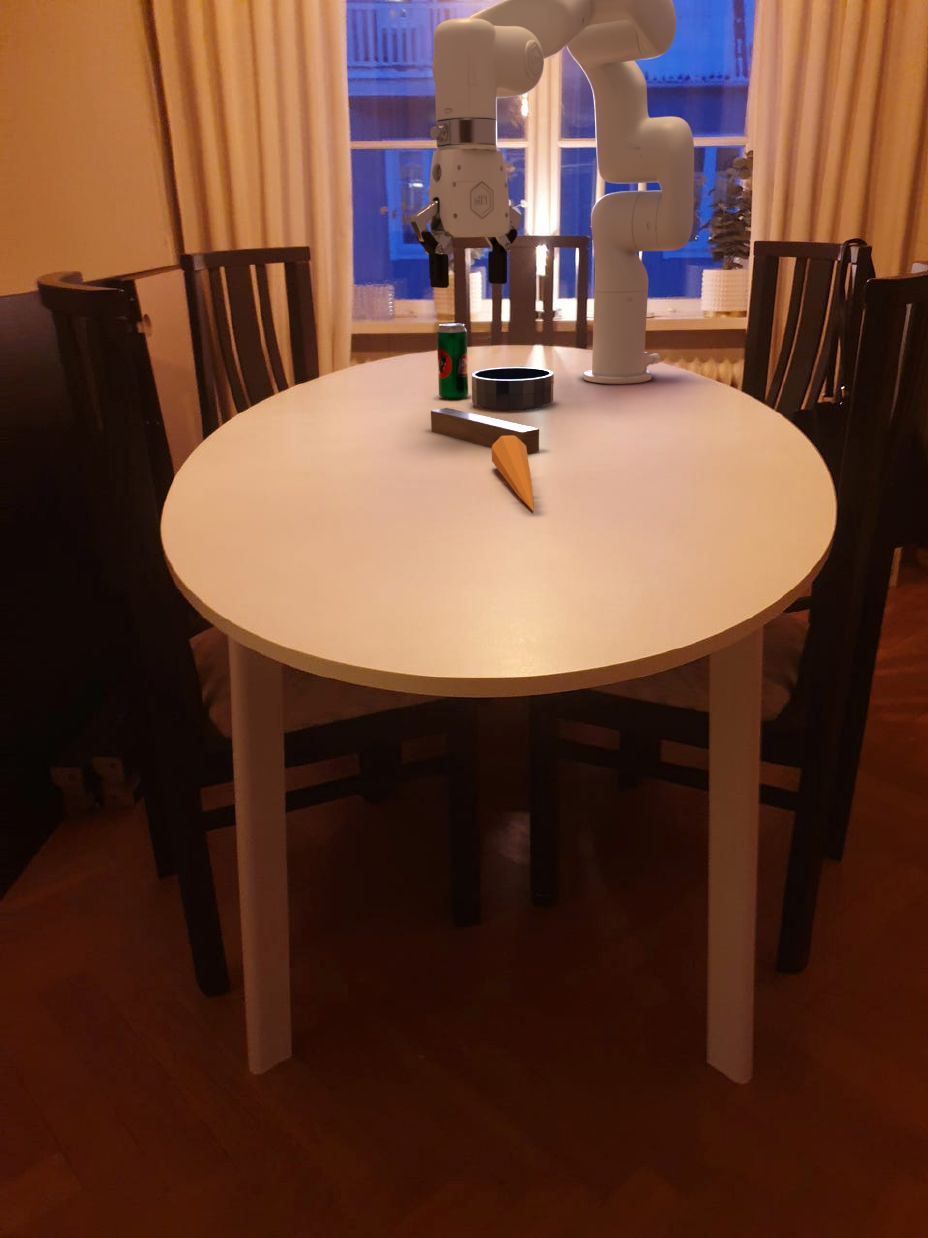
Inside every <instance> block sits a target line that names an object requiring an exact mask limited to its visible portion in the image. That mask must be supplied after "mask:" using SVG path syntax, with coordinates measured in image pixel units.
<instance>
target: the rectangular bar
mask: <svg viewBox="0 0 928 1238" xmlns="http://www.w3.org/2000/svg"><path fill="white" fill-rule="evenodd" d="M430 426H431V427H430V428H431V429H430V430H431V432H433V433H437V434H440V435H443V436H448V437H452V438H456V439H459V440H462V441H468V442H471V443H474V444H479V445H482V446H486V447H490V448H492V446H493V444H494V443H495V442H496V441H497V440H498V439H499V438H500V437H501V436H511V435H514V436H516V437H517V438H518V439H519V440H521V441H522V442H523V443H524V444H525V445H526V448H527V455H530V454H535V453H539V452H540V428H537V427H533V426H528V425H523V424H520V423H515V422H511V421H507V420H502V419H499V418H493V417H489V416H485V415H480V414H475V413H471V412H468V411H463V410H458V409H454V408H451V407H450V408H449V407H444V408H438V409H437V408H436V409H433V410H430Z"/></svg>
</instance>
